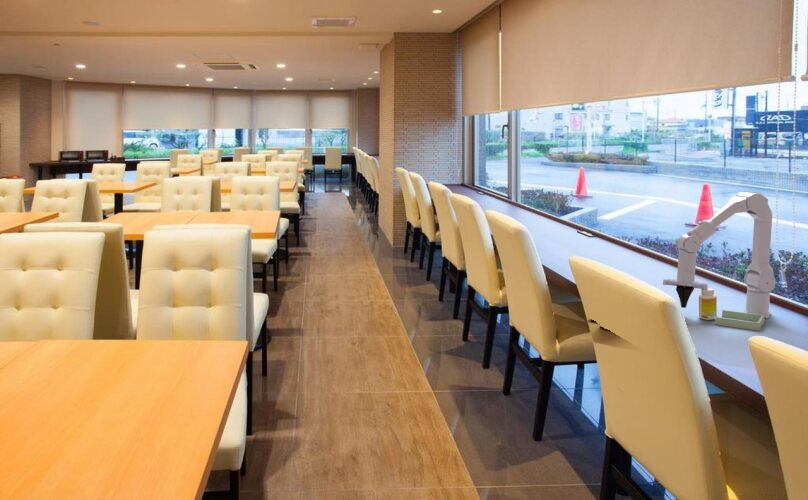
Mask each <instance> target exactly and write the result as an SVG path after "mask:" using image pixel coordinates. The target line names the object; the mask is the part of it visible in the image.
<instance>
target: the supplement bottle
mask: <svg viewBox="0 0 808 500" xmlns="http://www.w3.org/2000/svg"><path fill="white" fill-rule="evenodd" d="M700 290H701V292H700V294H699V295H698V317H699V319H701V320H704V321H705V320H707V321H708V320H709V321H712V320H716V317H718V316H717V314H718V313H717V308H718V307H717V302H718V301H717V295H716V294H715V289H714V288H709V287H708V289H707V290H704V289H700Z"/></svg>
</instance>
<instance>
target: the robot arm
mask: <svg viewBox="0 0 808 500" xmlns="http://www.w3.org/2000/svg"><path fill="white" fill-rule="evenodd" d="M768 202H769V199H768V198H767V197H766V196H765V195H763V194H762V193H760V192H759V193H757V192H755V193H754V192H747V191H740V192H738V193H736V195H735V196H732V197H731V198H730V200H729V201H728V203H726V204H725V205H724V206H722V208H721V209H720V210H719V211H717V212H716V213H715V214H714V215H713V216H712V217H711V218H710V219H703V220H699V221H698V222H697V225H696V226H695V227H693V228H692V229H691V230H688V231H686V234H682V235H681V236H679V238H678V239H677V241H676V242H675V245H676V248H677V249H678V258H677V259H678V260H677V270H676V271H677V272H676V273H677V274H676V279H673V278H672V279H671V278H663V279H662V285H663V286H674V287H675V290H676V292H677V295H678V298H679V302H680V308H682V309H683V308H684V309H686V308H687V306H688V301H689V299H690V297H691V295H692V294H693V292H694V290H695V289H700V290H701V289H704V290H707V289H708V288H709V283H707V282H700V281H696V280H695V279H696V278H695V277H696V266H697V265H696V264H697V252H698V251H699V250H700V249H701V246H702V244H703V243H705V241H707V240H708V239H709V238H710V237H711V236H713V235H714V234H716V232H717V228H718V227H719V226H720V225H721V224H723V223H724V222H726V221H727V220H728V219H730V218H731V217H732V216H734V215H735V214H740V213H741V214H742V213H747V214H748V215H749V216H751V218H753V235H752V237H753V238H752V250H751V263H749V264H748V266H747V268H746V269H747V270H746V273H745V274H744V275H743V276H744V278H743V281H744V283H745V285H746V289H747V290H746V298H745V299H746V300H745V301H746V302H745V311H744V312H745V313H752V314H760V315H765V318H764V319H769V317H771V314H772V312H771V311H769V310H770V309H769V308H770V301H771V293H772V290H774V288H775V287H776V282H777V281H776V278H775V276H774V275H775V274H774V269H773V268H772V267H771V265H770V256H771V255H770V254H771V242H772V241H771V240H772V228H773V226H772V225H773V211H772V210H771V207H770V205H769V203H768Z"/></svg>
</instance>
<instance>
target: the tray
mask: <svg viewBox="0 0 808 500" xmlns="http://www.w3.org/2000/svg"><path fill="white" fill-rule="evenodd" d="M765 319H766V318H765V315H760V314H752V313H745V311H736V310H728V309H722V312H721V316H717V317H716V319H715V321H714V322H715V325H716V326H725V327H731V328H738V329H744V330H751V331H752V330H753V331H759V332H760V330H761V329H762V326H763V325H764V323H765Z"/></svg>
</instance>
